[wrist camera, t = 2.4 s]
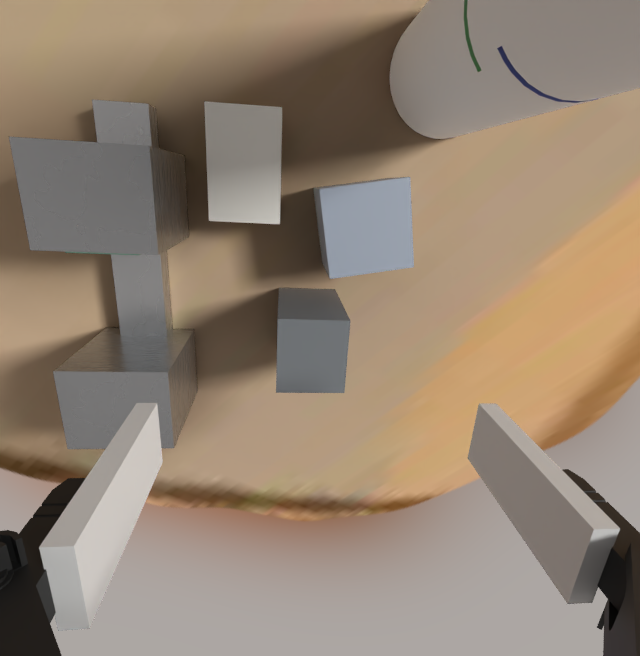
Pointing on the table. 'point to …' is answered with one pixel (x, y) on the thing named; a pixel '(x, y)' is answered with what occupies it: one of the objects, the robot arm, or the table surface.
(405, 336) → the table surface
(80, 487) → the robot arm
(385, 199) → the loose block slate
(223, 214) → the loose block white
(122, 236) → the grey stepped block assembly
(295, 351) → the block
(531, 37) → the cylindrical container
